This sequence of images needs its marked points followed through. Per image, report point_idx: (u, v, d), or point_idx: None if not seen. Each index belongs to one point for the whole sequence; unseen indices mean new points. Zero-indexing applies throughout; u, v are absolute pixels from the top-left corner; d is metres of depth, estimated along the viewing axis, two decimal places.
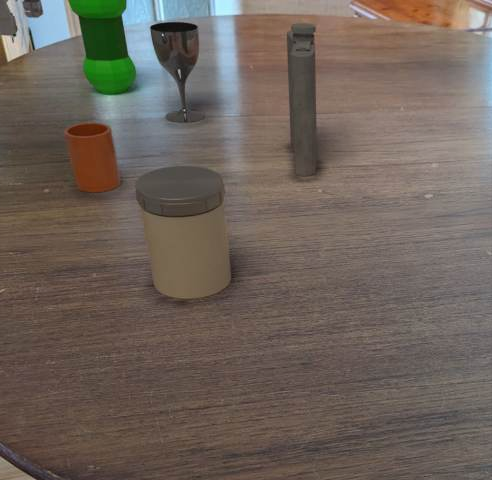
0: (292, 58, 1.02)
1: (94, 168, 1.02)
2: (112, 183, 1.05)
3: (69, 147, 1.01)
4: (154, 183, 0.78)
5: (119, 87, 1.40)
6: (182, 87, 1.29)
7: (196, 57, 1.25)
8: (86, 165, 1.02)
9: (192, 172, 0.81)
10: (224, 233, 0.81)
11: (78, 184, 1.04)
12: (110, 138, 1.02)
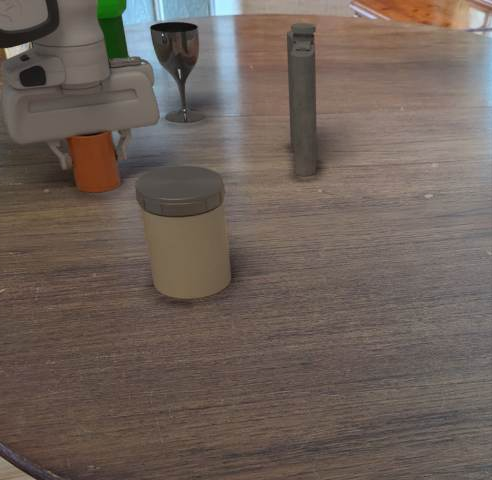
0: (292, 58, 1.02)
1: (94, 168, 1.02)
2: (112, 183, 1.05)
3: (69, 147, 1.01)
4: (154, 183, 0.78)
5: None
6: (182, 87, 1.29)
7: (196, 57, 1.25)
8: (86, 165, 1.02)
9: (192, 172, 0.81)
10: (224, 233, 0.81)
11: (78, 184, 1.04)
12: (110, 138, 1.02)
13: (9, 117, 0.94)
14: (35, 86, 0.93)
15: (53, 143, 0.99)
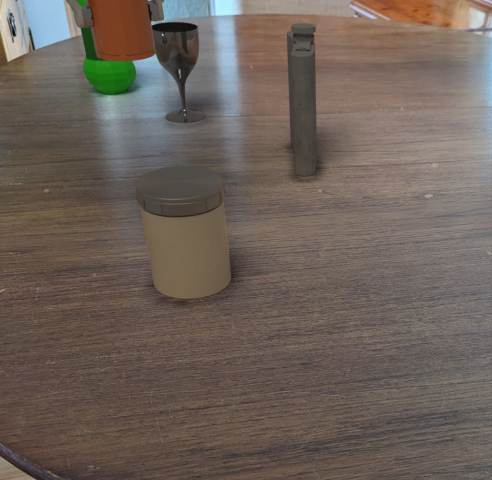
0: (292, 58, 1.02)
1: (122, 25, 0.75)
2: (145, 50, 0.78)
3: None
4: (154, 183, 0.78)
5: (119, 87, 1.40)
6: (182, 87, 1.29)
7: (196, 57, 1.25)
8: (111, 20, 0.75)
9: (192, 172, 0.81)
10: (224, 233, 0.81)
11: (99, 50, 0.77)
12: None
13: None
14: None
15: None
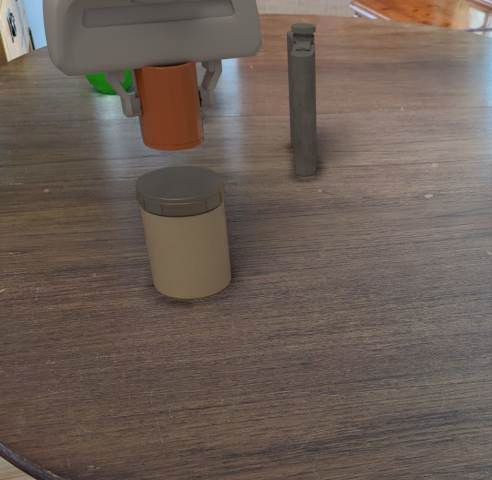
0: (292, 58, 1.02)
1: (172, 115, 0.71)
2: (195, 138, 0.74)
3: (137, 84, 0.70)
4: (154, 183, 0.78)
5: None
6: None
7: None
8: (161, 110, 0.71)
9: (192, 172, 0.81)
10: (224, 233, 0.81)
11: (147, 139, 0.73)
12: (195, 72, 0.71)
13: (55, 32, 0.63)
14: None
15: (116, 77, 0.68)
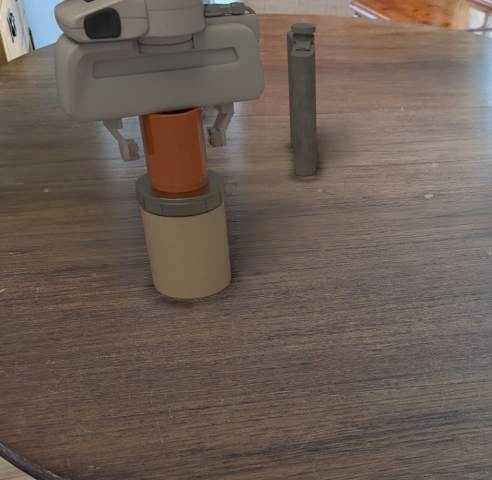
0: (292, 58, 1.02)
1: (178, 159, 0.74)
2: (200, 180, 0.77)
3: (145, 130, 0.73)
4: None
5: None
6: None
7: None
8: (167, 155, 0.74)
9: None
10: (224, 233, 0.81)
11: (154, 181, 0.76)
12: (200, 118, 0.74)
13: (67, 84, 0.66)
14: (105, 39, 0.64)
15: (114, 124, 0.71)
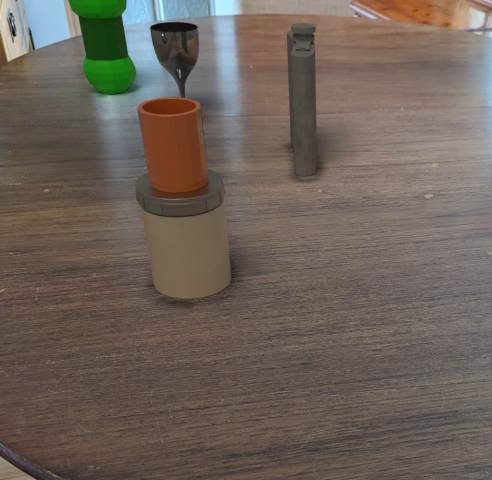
0: (292, 58, 1.02)
1: (178, 159, 0.74)
2: (200, 180, 0.77)
3: (145, 130, 0.73)
4: None
5: (119, 87, 1.40)
6: (182, 87, 1.29)
7: (196, 57, 1.25)
8: (167, 155, 0.74)
9: None
10: (224, 233, 0.81)
11: (154, 181, 0.76)
12: (200, 118, 0.74)
13: None
14: None
15: None
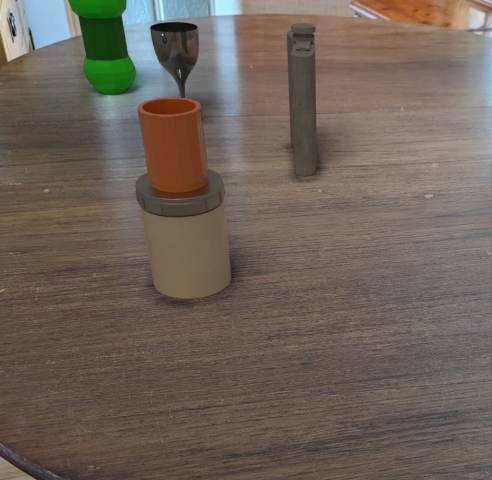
0: (292, 58, 1.02)
1: (178, 159, 0.74)
2: (200, 180, 0.77)
3: (145, 130, 0.73)
4: None
5: (119, 87, 1.40)
6: (182, 87, 1.29)
7: (196, 57, 1.25)
8: (167, 155, 0.74)
9: None
10: (224, 233, 0.81)
11: (154, 181, 0.76)
12: (200, 118, 0.74)
13: None
14: None
15: None
